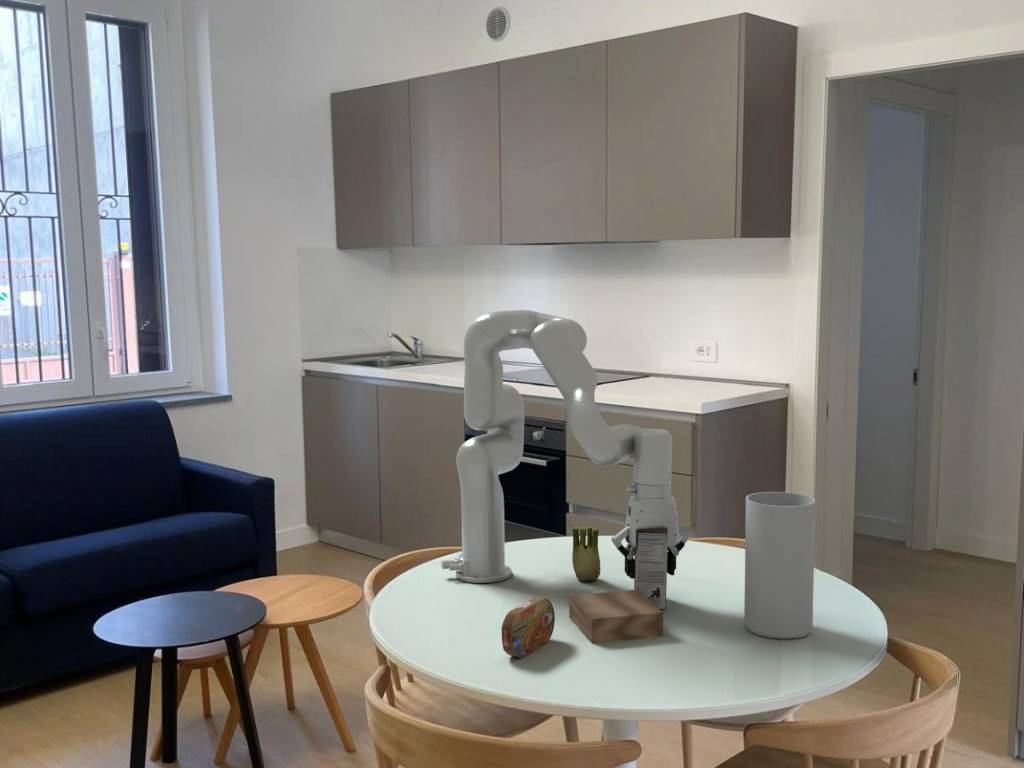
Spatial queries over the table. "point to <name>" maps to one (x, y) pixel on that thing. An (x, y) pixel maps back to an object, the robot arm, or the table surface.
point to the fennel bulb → (586, 554)
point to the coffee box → (651, 564)
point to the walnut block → (615, 616)
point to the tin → (528, 627)
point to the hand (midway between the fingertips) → (650, 574)
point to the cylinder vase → (779, 564)
